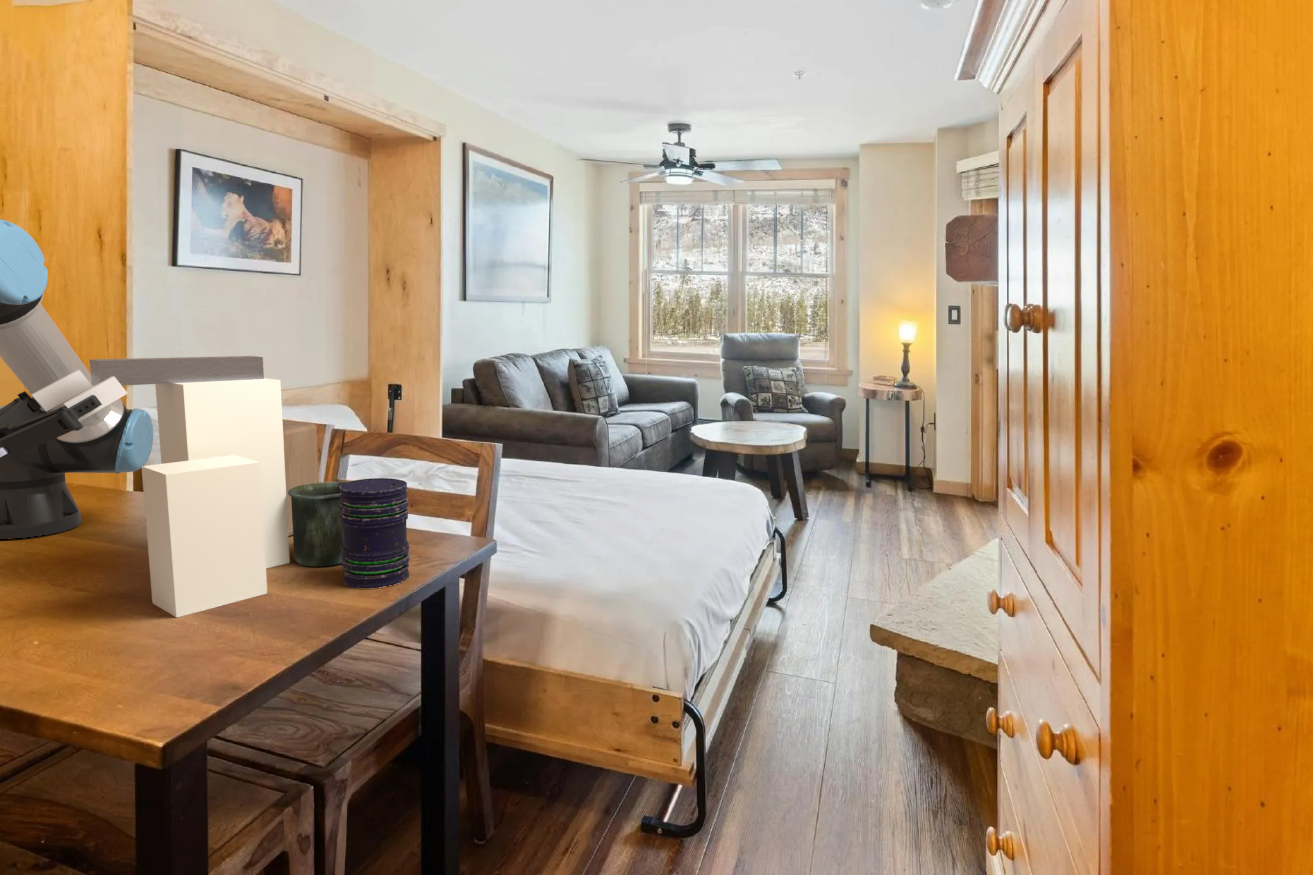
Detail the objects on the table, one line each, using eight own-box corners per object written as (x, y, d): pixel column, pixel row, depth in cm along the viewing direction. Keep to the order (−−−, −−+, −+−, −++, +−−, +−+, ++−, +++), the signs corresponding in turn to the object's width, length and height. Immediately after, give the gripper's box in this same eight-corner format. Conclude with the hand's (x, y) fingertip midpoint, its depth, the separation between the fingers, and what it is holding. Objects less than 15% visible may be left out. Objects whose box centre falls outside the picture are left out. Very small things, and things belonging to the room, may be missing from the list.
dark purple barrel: (335, 590, 112) (331, 492, 110) (350, 569, 122) (346, 478, 120) (405, 588, 114) (402, 491, 112) (414, 567, 124) (412, 477, 121)
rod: (91, 384, 105) (89, 359, 105) (253, 377, 123) (252, 355, 122) (100, 386, 103) (98, 360, 103) (263, 379, 121) (262, 357, 120)
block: (288, 538, 137) (283, 429, 134) (240, 534, 139) (233, 426, 136) (323, 524, 147) (318, 422, 144) (277, 520, 149) (272, 419, 146)
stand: (169, 570, 119) (155, 380, 114) (260, 550, 130) (250, 376, 125) (197, 585, 113) (183, 384, 108) (289, 562, 124) (280, 380, 120)
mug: (276, 561, 125) (272, 490, 123) (349, 540, 137) (346, 475, 136) (321, 573, 120) (318, 499, 118) (392, 549, 132) (390, 482, 131)
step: (152, 603, 106) (141, 466, 103) (241, 581, 115) (233, 455, 112) (176, 617, 101) (165, 474, 98) (267, 593, 110) (259, 462, 107)
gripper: (-68, 484, 101) (89, 396, 114) (-20, 518, 86) (155, 411, 99) (-115, 439, 97) (54, 353, 110) (-72, 467, 82) (117, 363, 95)
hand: (102, 380), depth 104 cm, fingers open, 13 cm apart
